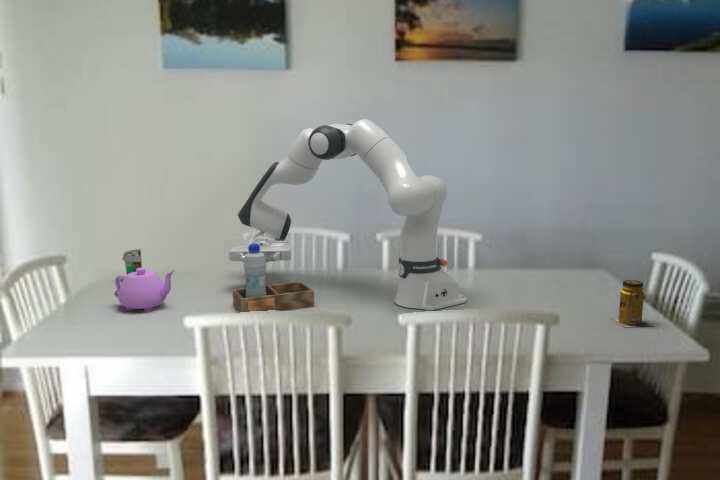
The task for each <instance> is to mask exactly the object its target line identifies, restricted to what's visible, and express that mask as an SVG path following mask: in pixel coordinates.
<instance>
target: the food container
mask: <svg viewBox="0 0 720 480" xmlns="http://www.w3.org/2000/svg"><path fill="white" fill-rule="evenodd" d="M121 260H122V261H124V266H125V271H126V275H128V274H129V273H132V272H136V269H137V268H143V263H142V262H143V261H142V250H141V248H136V249H130V250H126V251H125V252H123V255H122V259H121Z"/></svg>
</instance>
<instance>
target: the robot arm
mask: <svg viewBox="0 0 720 480" xmlns="http://www.w3.org/2000/svg"><path fill="white" fill-rule="evenodd" d="M356 155H357V156H358V157H359V158H360V159H361V160H362V162H363V163H364V164H365V165H366V166H367V167H368V168H369V170H370V171H371V172H372V173H373V174H374V175H375V176H376V177H377V178H378V180H379V181H380V183H381V184H382V186H383V188H384V190H385V192H386V193H387V195H388V203H389V207H390V208H391V210H392V212H393V213H395V214H396V215H398V216H401V217H406V218H405V221H404V224H403V225H402V229H401V230H400V235H399V236H400V237H399V241H400V242H399V244H400V246H399V248H400V249H399V251H400V252H399V254H400V255H399V257H398V268H397V269H398V276H399V277H398V285H397V290H396V296H395V297H394V303H395V304H396V305H398V306H400V307H404V308H409V309H417V310H418V309H420V310H425V311H435V309H436V310H439V309H444V308H448V307H452V306H458V305H461V304H464V303H467V297H466V296H465V295H464V294H463V293H460V288H459V283H458V282H457V280H456V279H455V278H454V277H452V276H451V275H449V274H448V273H447V272H446V271H444V270H443V269H442V267H447V266H448V261H447V260H446V259H443V258H441V259H440V258H439V257H437V243H438V242H437V236H438V229H439V224H440V220H441V219H440V218H441V215H442V209H443V206H444V203H445V201H446V199H447V197H448V188H447V185H446V183H445V182H444V180H443V179H441V178H440V177H438V176H434V175H429V174H428V175H426V174H425V175H421V176H418V175H417V174H416V173H415V171H414V170H413V168H412V167H411V165H410V163H409V158H408V155H407V154H406V153H405V152H404V151H403V150H402V148H401V147H400V146H399V145H398V144H397V143H396V142H395V140H394V139H392V137H390V136H389V135H388V133H387V132H385V131H384V129H382V128H381V127H380V126H378V125H377V124H376V123H375V122H373V121H372V120H370V119H369V118H368V119H367V118H362V119H359V120H357V121H355V122H354V123H352V124H351V123H345V124H343V123H331V124H325V125H320V126H317V127H316V128H311V127H309V128H305V129H303V130H301V132H300V133H299V135H298V136H297V137H296V139H295V141H294V142H293V144H292V146H291V147H290V149H289V151H288V154H287V156H286V157H285V158H284V159H282V160H281V161H276V162H274V163H272V164H271V165H270V167H268V169H267V170H266V172H265V173H264V174H263V176H262V177H261V179H260V180H259V181H258V182H257V184H256V186H255V187H254V189H253V190H252V191H251V193H250V194H249V195H248V197H247V198H245V199H244V201H243V202H242V203H241V205H240V206H239V209H238V212H237V217H238V219H239V221H240V222H241V223H240V224H242V225H244V226H246V227H250V228H253V229H256V230H257V231H258V233H256V234H255V235H254V237H253V238H252V240H251V242H250V244H259V246H260V251H259V252H262V253H264V255H265V260H266V264H267V263H269V262H276V261H290V260H292V247H291V245H290V243H288V240H287V239H286V238H287V236H288V234H289V231H290V228H291V224H292V219H291V216H290V214H289V213H288V212H286V211H285V210H283V209H280V208H278V207H274V205H271V204H269V203H267V202H264V201H263V200H262V199H263V198H264V196H265V194H266V193H267V192H268V190H269V189H270V188H271V187H272V186H273V185H278V184H279V185H280V184H281V185H282V184H283V185H293V186H298V185H304V184H306V183H309V182H311V180H313V178H314V177H315V176H316V175H317V172H318V170H319V168H320V166H321V163H322V161H323V160H325V161H328V160H342V159H345V158H349V157H354V156H356ZM248 247H249V245H244V246H243V245H242V246H241V245H238V246H233V247H232V248H230V249H229V251H228V259H229V261H230V262H242V263H244V257H245V254H247V253H248V252H249V249H248Z"/></svg>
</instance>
